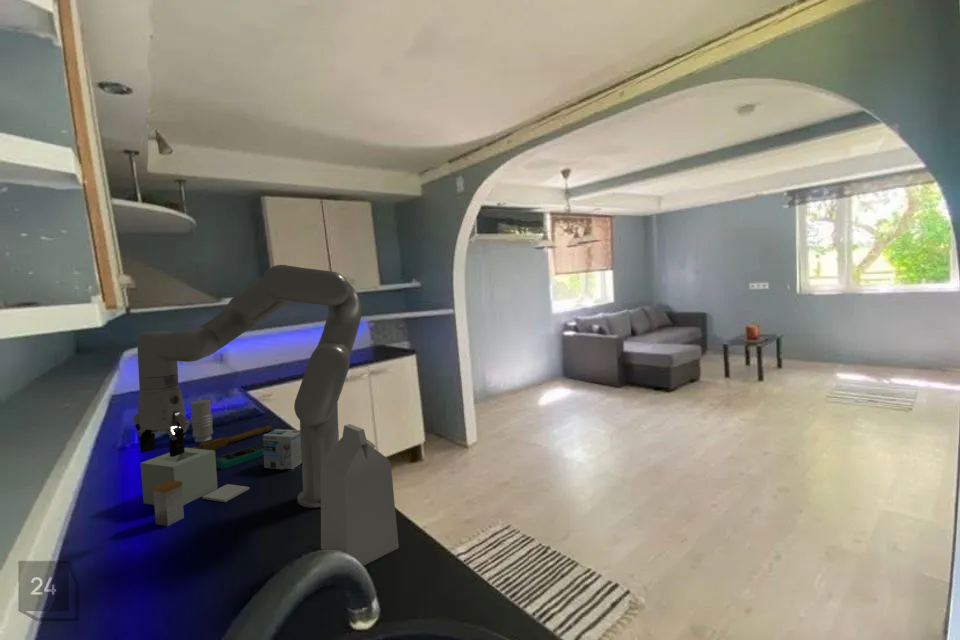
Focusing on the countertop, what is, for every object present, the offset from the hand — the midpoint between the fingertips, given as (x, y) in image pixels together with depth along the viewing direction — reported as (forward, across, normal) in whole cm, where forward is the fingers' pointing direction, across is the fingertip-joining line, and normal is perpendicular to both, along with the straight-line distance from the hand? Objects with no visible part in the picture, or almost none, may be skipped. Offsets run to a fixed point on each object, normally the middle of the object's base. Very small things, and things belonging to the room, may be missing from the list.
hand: (162, 452), depth 104 cm
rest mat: (+17, -2, -16) cm, 23 cm away
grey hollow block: (+17, +10, -12) cm, 23 cm away
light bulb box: (+17, -3, -36) cm, 40 cm away
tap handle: (+18, +34, -50) cm, 63 cm away
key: (+17, -1, 0) cm, 17 cm away
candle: (+18, +49, -50) cm, 73 cm away
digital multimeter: (+18, +16, -36) cm, 44 cm away
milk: (+16, -53, -2) cm, 56 cm away
